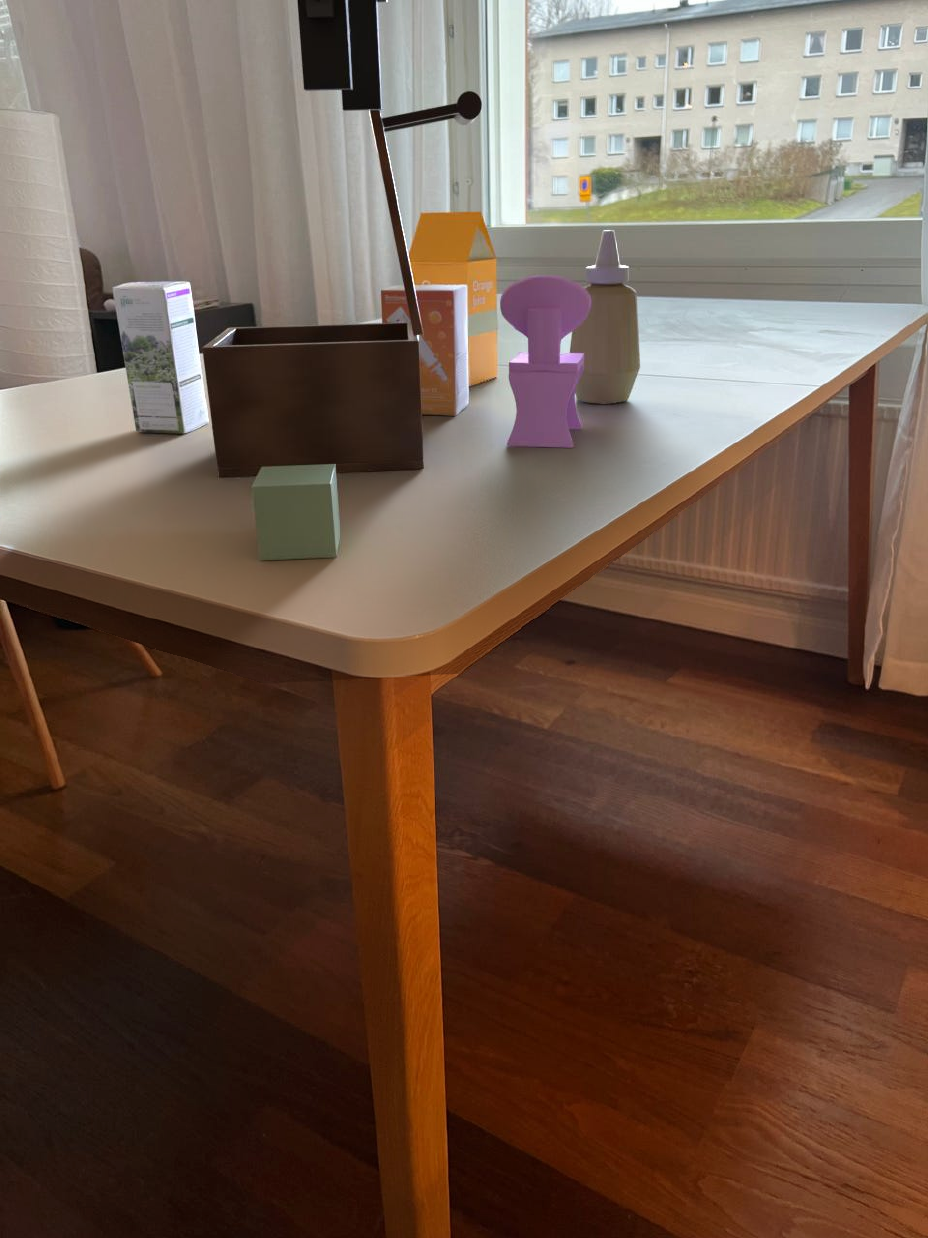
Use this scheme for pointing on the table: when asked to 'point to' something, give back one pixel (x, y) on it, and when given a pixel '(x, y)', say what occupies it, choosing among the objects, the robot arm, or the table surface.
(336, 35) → the robot arm
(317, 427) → the chest
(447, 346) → the small box
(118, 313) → the syrup box
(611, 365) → the squeeze bottle
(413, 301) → the lid
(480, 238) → the orange juice
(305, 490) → the block
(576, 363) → the toy chair
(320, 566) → the table surface
